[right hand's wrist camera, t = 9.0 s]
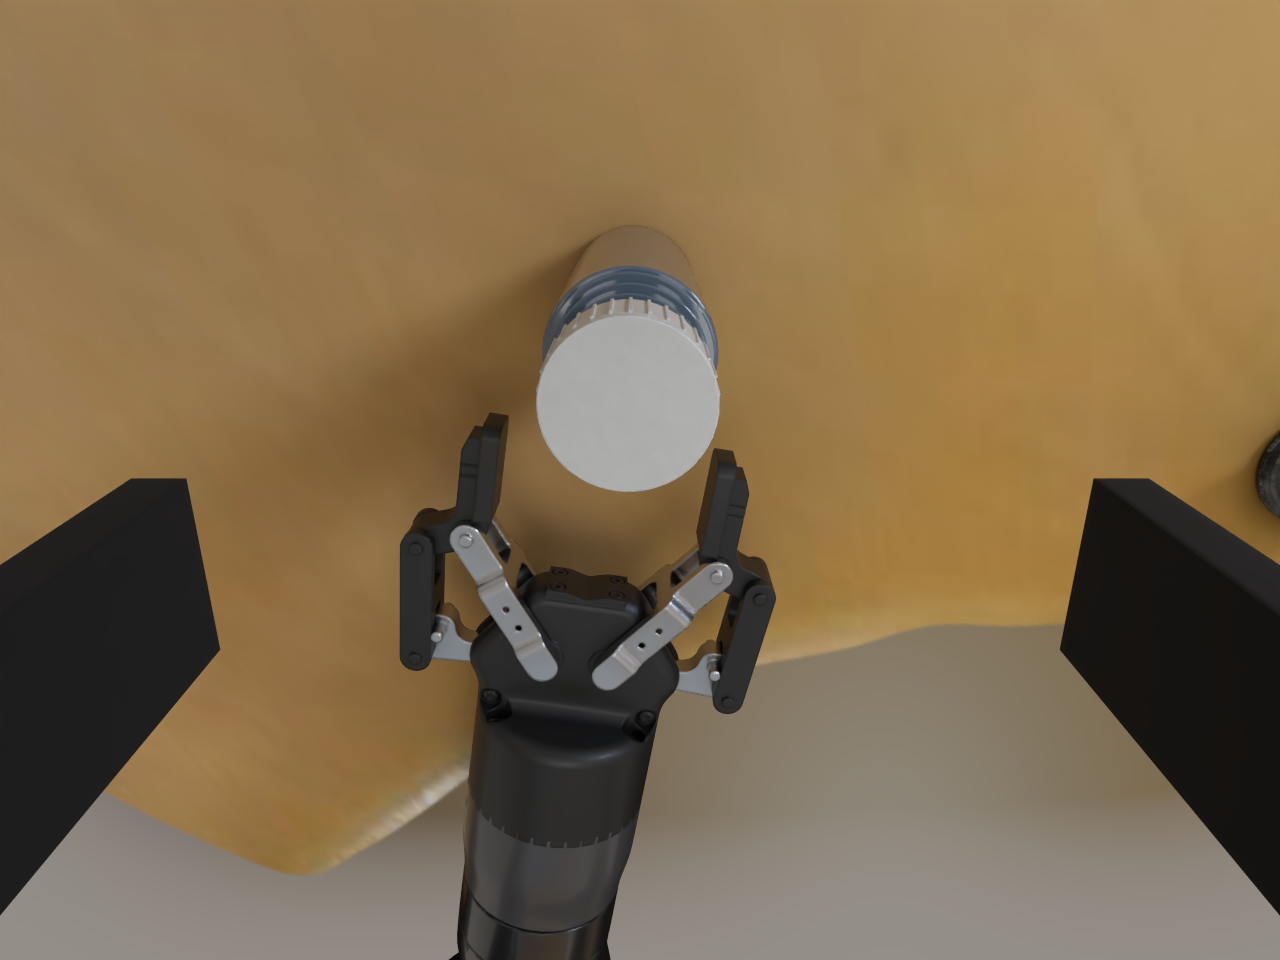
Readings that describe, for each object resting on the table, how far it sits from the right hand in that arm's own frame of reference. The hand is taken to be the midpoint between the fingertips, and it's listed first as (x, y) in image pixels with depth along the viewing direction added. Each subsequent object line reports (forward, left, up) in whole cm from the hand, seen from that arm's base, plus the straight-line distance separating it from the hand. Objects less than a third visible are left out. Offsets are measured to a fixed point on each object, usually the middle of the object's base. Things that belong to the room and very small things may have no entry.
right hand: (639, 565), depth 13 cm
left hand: (+3, -4, -20) cm, 20 cm away
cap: (0, 0, -8) cm, 8 cm away
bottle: (0, 0, -26) cm, 26 cm away
